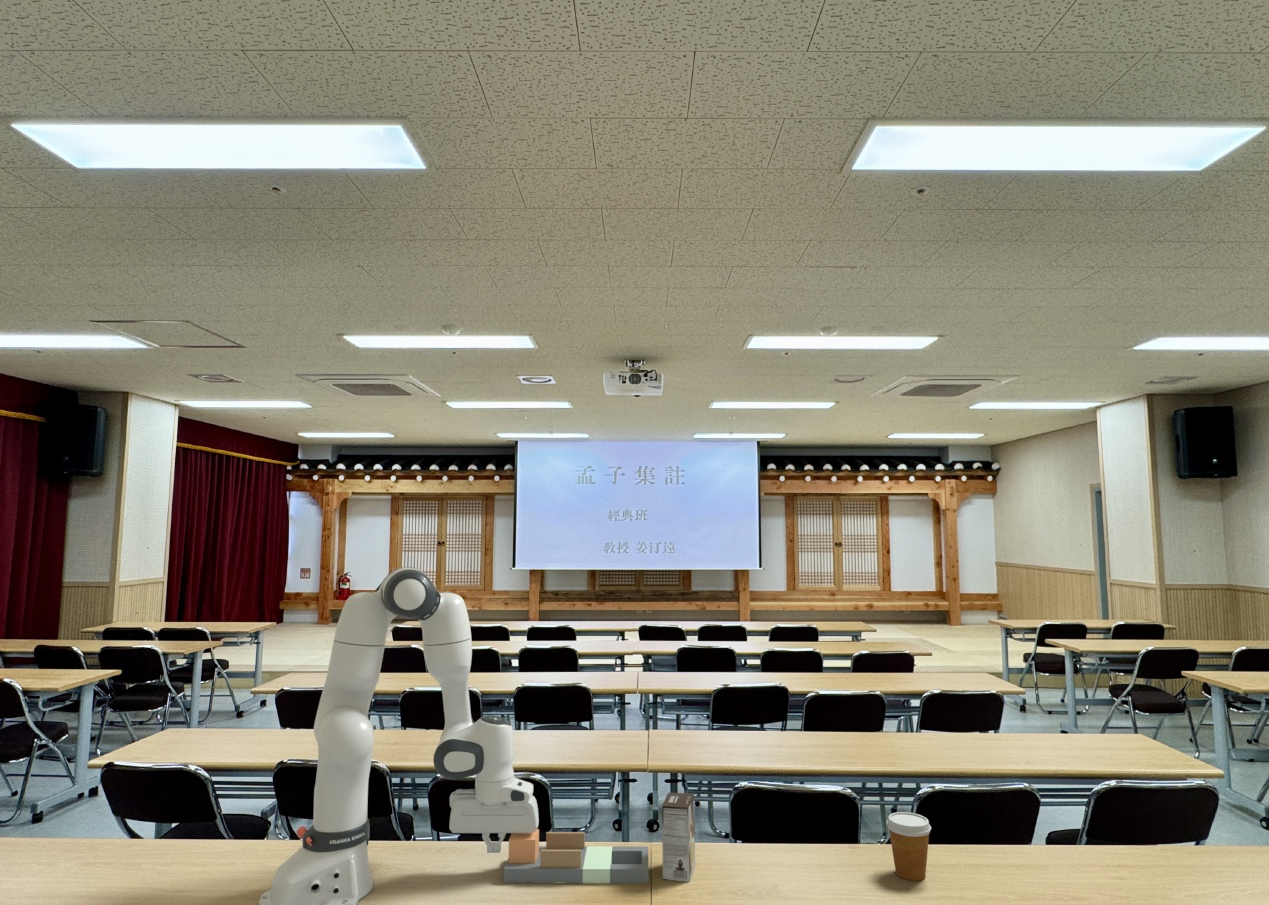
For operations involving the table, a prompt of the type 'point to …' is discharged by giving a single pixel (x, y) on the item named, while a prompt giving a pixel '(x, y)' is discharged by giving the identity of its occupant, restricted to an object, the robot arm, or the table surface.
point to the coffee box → (678, 836)
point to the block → (524, 847)
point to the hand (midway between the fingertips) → (493, 851)
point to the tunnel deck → (581, 862)
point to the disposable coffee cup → (909, 844)
